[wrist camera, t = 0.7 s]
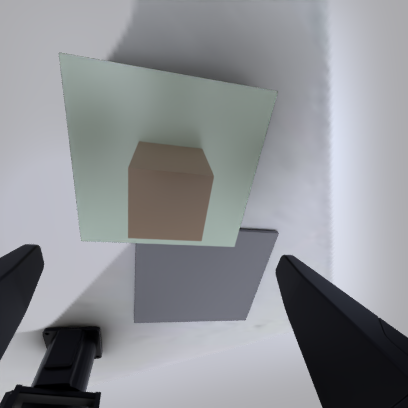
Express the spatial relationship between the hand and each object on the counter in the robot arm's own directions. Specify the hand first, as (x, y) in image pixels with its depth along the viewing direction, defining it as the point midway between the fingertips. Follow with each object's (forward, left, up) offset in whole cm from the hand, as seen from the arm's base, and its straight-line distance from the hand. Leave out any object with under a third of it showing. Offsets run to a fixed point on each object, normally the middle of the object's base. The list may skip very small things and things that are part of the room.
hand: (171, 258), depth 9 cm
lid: (0, 0, -9) cm, 9 cm away
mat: (-15, -5, -13) cm, 20 cm away
